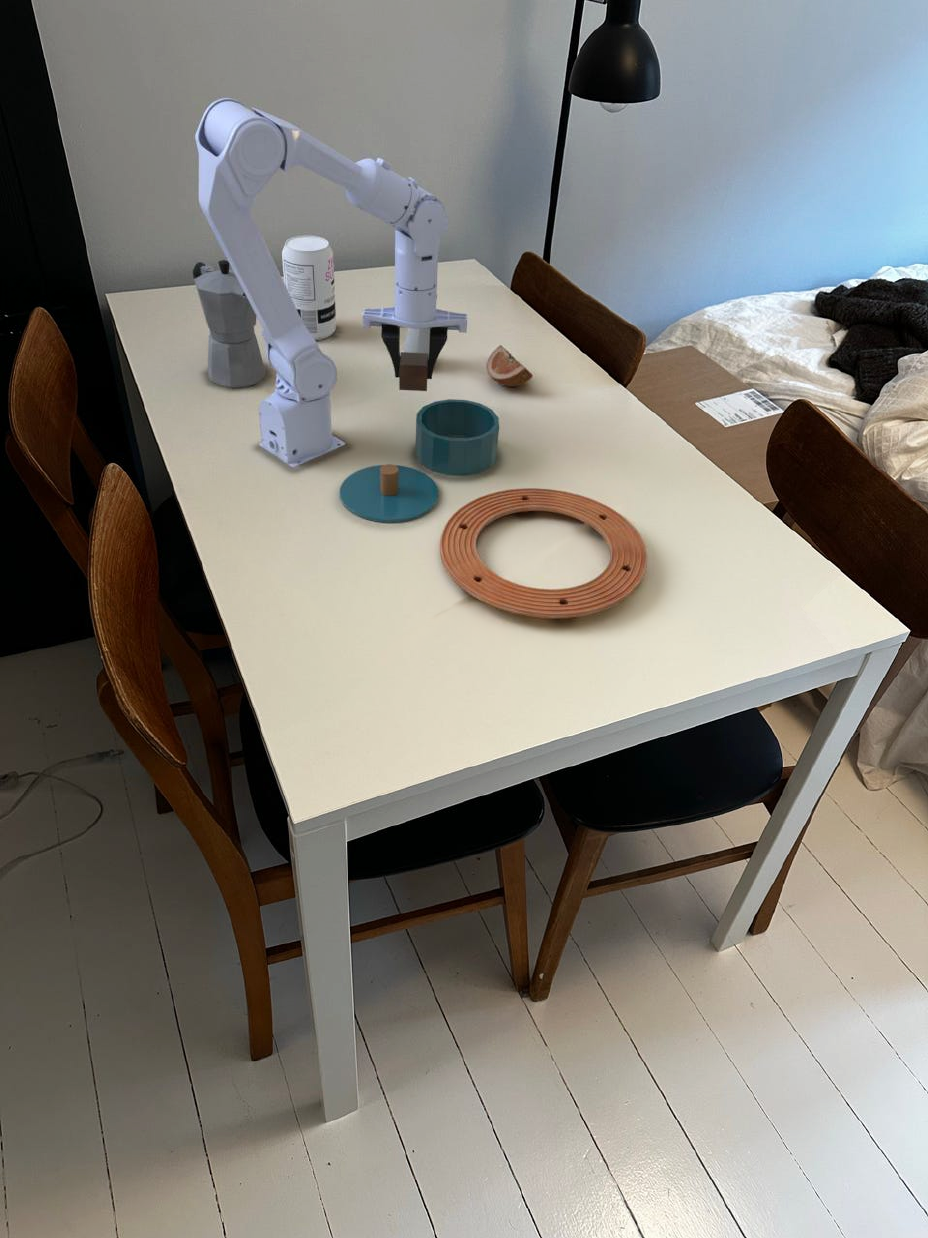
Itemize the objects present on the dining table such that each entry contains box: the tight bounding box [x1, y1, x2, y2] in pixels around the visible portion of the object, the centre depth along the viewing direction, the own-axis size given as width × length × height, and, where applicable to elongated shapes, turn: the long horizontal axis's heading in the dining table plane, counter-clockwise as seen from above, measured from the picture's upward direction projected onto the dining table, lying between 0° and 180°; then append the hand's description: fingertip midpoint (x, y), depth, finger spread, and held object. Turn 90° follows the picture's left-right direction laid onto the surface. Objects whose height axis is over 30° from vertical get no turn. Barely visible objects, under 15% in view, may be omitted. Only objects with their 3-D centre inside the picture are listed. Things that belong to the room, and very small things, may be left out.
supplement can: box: [281, 235, 337, 341], centre depth 155 cm, size 8×8×15 cm
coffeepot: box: [192, 259, 267, 389], centre depth 142 cm, size 15×9×18 cm, turn 44°
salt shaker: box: [403, 294, 438, 357], centre depth 149 cm, size 6×6×13 cm
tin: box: [414, 398, 500, 477], centre depth 130 cm, size 11×11×6 cm
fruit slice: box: [486, 344, 533, 387], centre depth 148 cm, size 8×7×5 cm
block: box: [398, 351, 428, 392], centre depth 135 cm, size 4×4×4 cm
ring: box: [439, 487, 648, 620], centre depth 114 cm, size 25×25×2 cm
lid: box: [339, 463, 439, 524], centre depth 122 cm, size 13×13×4 cm
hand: (413, 375), depth 135 cm, fingers closed on block, 4 cm apart
